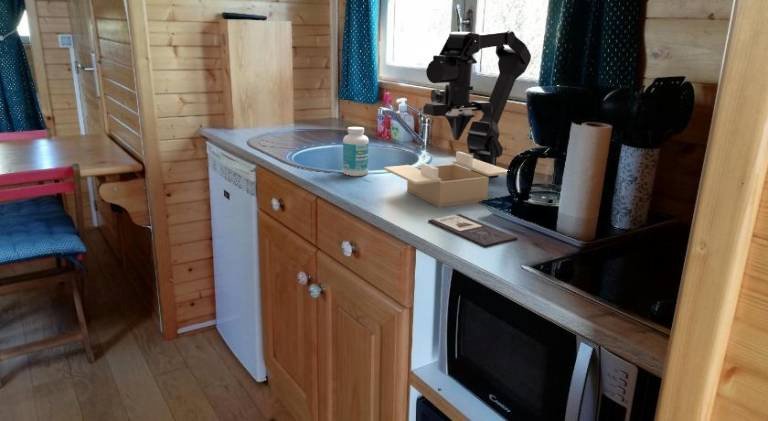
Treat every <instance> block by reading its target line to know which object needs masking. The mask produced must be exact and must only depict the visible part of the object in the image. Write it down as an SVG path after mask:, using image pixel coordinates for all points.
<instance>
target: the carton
mask: <svg viewBox="0 0 768 421" xmlns="http://www.w3.org/2000/svg"><path fill="white" fill-rule="evenodd" d="M433 166H434V167H436V168H438V178H440V179H441V182H433V183H425V184H413V183H411V182H409V181H407V180H406V182H407V186H406V187H407V189H406V191H407V192H409V193H411V194H413V195H415V196H417V197H419V198H421V199H423V200H424V201H427V202H429V203H431V204H433V205H435V206H436V207H439V208H442V207H449V206H457V205H463V204H465V205H466V204H470V203H471V204H472V203H478V202H479V201H480V202H483V201H482V200H487V201H488V195H489V194H488V193H489V179H490V177H487V176H484V175H482V174H479V173H476V172H474V171H471V169H468V168H465V167H463V166H460V165H457V164H455V163H450V164H449V163H448V164H440V165H439V164H437V165H433ZM416 168H417V169H419V170H421V166H418V167H416Z"/></svg>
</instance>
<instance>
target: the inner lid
mask: <svg viewBox="0 0 768 421" xmlns="http://www.w3.org/2000/svg"><path fill="white" fill-rule="evenodd" d="M452 164H455V165H457V166H460V167H463V168H465V169H468V170H473V171H476V172H479V173H482V174H484V175H487V176H495V175H499V176H501V175H502V176H503V175H508V174H507V171H508V170H509V169H506V168H504V167H501V166H497V165H496V166H495V165H492V164H489V163H486V162H483V161H480V160H477V159H473V154H470V153H467V152H464V151H463V152H462V151H456V152H455V160H452Z"/></svg>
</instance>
